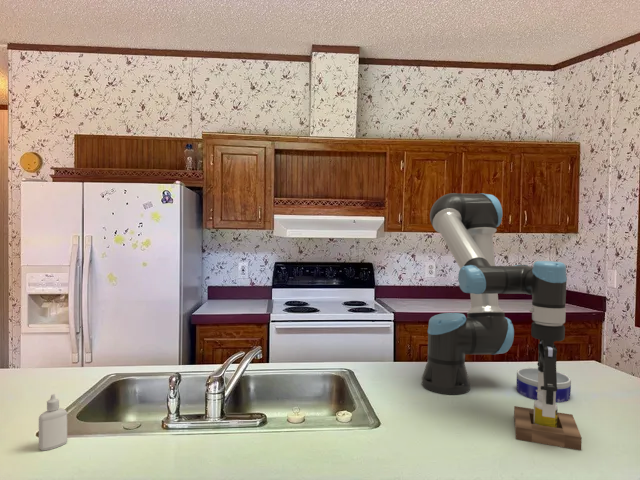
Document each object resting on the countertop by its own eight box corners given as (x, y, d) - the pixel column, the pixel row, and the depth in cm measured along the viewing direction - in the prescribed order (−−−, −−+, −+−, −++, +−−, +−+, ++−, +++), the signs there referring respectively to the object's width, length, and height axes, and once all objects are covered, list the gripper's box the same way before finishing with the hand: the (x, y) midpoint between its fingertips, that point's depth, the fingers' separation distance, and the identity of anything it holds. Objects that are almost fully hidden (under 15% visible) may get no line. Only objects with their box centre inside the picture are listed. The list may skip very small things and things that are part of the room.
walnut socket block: (514, 416, 123) (514, 406, 123) (572, 425, 118) (572, 414, 118) (516, 439, 110) (516, 427, 110) (581, 450, 105) (581, 437, 105)
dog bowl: (569, 390, 144) (570, 371, 144) (571, 407, 131) (572, 386, 131) (518, 382, 151) (518, 364, 151) (514, 397, 138) (515, 378, 138)
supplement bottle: (559, 437, 111) (560, 398, 111) (536, 435, 112) (537, 396, 112) (553, 428, 116) (554, 391, 116) (530, 426, 118) (531, 389, 117)
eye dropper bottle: (65, 448, 103) (64, 396, 103) (36, 452, 101) (36, 399, 101) (68, 439, 107) (68, 390, 107) (41, 443, 105) (41, 392, 105)
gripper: (528, 312, 126) (526, 387, 127) (535, 331, 103) (532, 423, 104) (558, 315, 123) (556, 391, 124) (572, 335, 100) (569, 429, 101)
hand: (545, 406), depth 114 cm, fingers open, 13 cm apart
